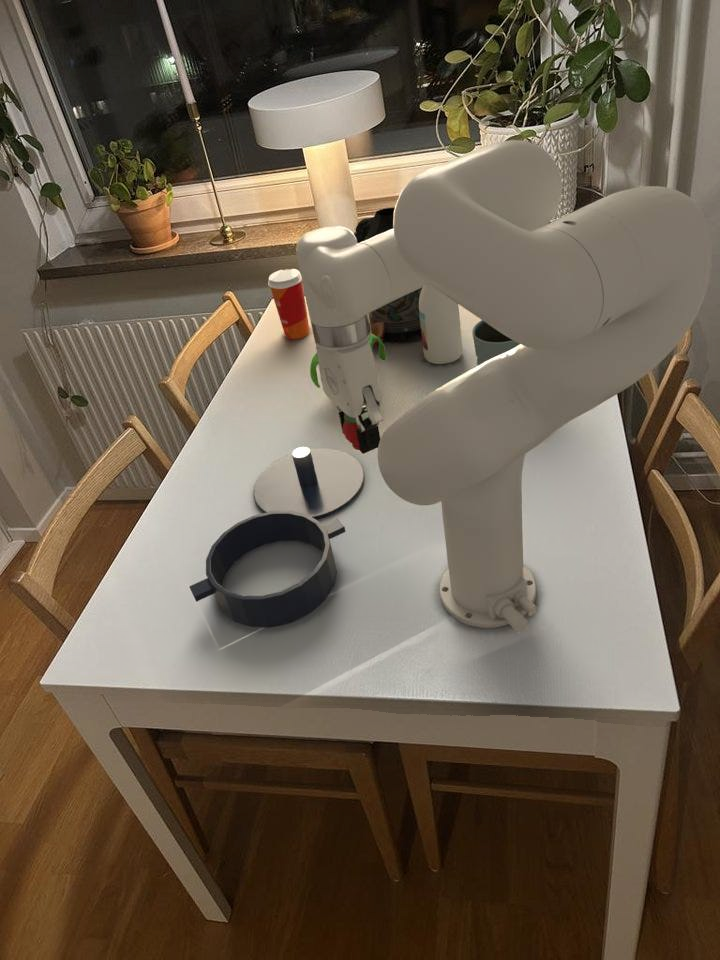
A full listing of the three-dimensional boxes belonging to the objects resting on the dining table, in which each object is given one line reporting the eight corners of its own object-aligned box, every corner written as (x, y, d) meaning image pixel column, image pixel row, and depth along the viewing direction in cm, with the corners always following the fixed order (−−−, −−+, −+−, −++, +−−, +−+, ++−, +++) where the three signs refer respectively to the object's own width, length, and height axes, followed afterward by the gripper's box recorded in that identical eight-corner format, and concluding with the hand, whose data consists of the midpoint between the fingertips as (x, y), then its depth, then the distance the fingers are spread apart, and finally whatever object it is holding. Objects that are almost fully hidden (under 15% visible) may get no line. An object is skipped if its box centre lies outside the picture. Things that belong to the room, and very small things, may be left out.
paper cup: (284, 326, 171) (271, 269, 162) (316, 324, 169) (304, 266, 161) (277, 343, 165) (262, 284, 156) (310, 340, 163) (297, 281, 155)
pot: (375, 583, 102) (368, 553, 99) (222, 659, 96) (209, 629, 92) (322, 517, 115) (315, 488, 112) (185, 580, 109) (172, 551, 105)
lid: (384, 493, 118) (378, 457, 113) (280, 541, 112) (269, 505, 108) (335, 440, 131) (327, 407, 127) (239, 481, 126) (228, 447, 122)
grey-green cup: (515, 366, 141) (513, 309, 134) (541, 390, 133) (541, 331, 126) (467, 382, 140) (462, 324, 132) (490, 407, 132) (487, 347, 125)
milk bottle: (469, 349, 149) (462, 253, 137) (451, 367, 144) (442, 270, 132) (435, 343, 153) (425, 250, 141) (417, 361, 148) (405, 267, 136)
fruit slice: (346, 352, 156) (342, 331, 153) (352, 337, 161) (348, 316, 158) (385, 350, 154) (381, 328, 151) (389, 335, 159) (386, 313, 156)
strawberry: (384, 445, 106) (379, 412, 102) (355, 458, 105) (349, 425, 101) (369, 430, 109) (363, 398, 106) (340, 443, 108) (334, 410, 105)
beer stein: (447, 338, 154) (436, 219, 139) (355, 350, 157) (335, 234, 141) (442, 304, 167) (431, 192, 152) (357, 315, 170) (338, 206, 154)
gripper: (289, 314, 101) (314, 424, 112) (344, 362, 88) (366, 479, 99) (338, 296, 103) (357, 406, 114) (398, 340, 90) (414, 458, 101)
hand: (361, 439), depth 107 cm, fingers closed on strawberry, 4 cm apart
